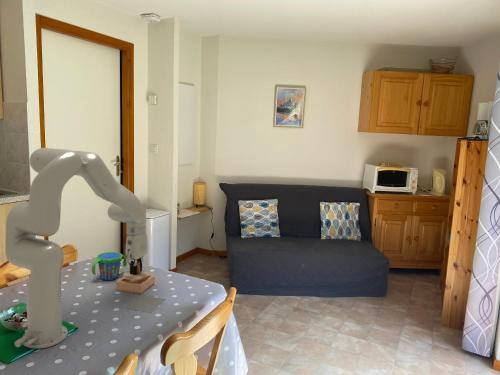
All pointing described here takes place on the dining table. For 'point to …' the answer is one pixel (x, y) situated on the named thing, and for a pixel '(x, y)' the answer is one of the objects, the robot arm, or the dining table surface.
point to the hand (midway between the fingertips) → (136, 272)
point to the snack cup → (109, 265)
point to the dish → (135, 284)
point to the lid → (139, 275)
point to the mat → (144, 303)
